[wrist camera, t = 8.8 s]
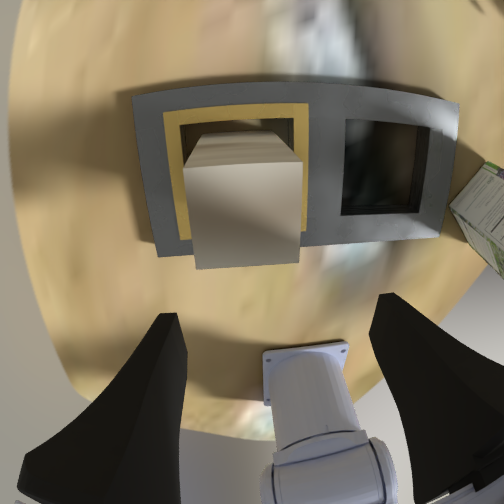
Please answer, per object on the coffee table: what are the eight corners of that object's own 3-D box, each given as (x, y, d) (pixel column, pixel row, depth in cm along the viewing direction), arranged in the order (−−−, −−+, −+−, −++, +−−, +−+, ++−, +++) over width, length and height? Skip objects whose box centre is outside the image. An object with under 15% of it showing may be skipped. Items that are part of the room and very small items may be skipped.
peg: (272, 193, 19) (299, 262, 12) (207, 196, 19) (196, 269, 12) (271, 130, 17) (302, 161, 10) (202, 133, 16) (182, 168, 10)
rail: (429, 228, 21) (440, 238, 19) (162, 245, 20) (157, 259, 18) (446, 101, 16) (461, 104, 14) (139, 95, 15) (130, 96, 13)
